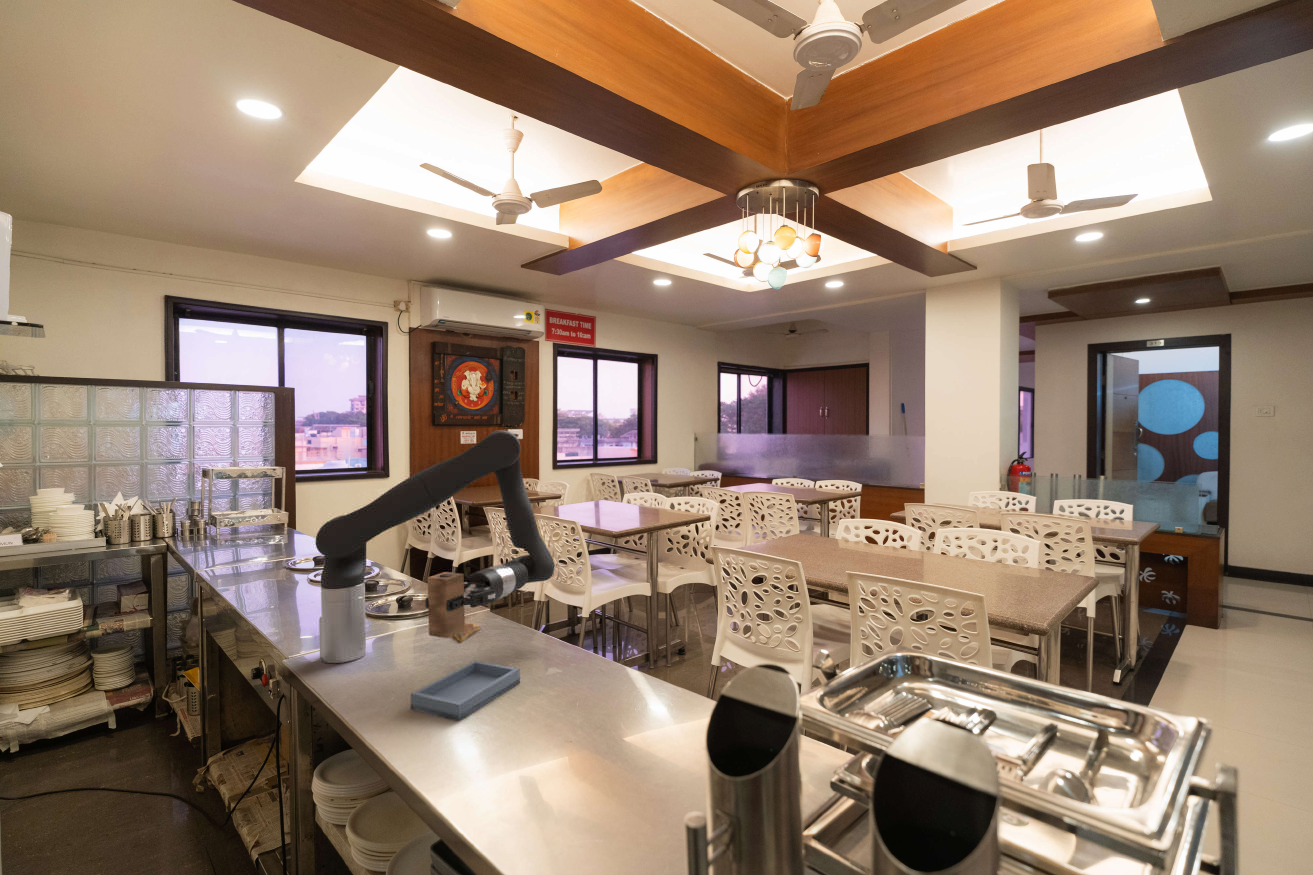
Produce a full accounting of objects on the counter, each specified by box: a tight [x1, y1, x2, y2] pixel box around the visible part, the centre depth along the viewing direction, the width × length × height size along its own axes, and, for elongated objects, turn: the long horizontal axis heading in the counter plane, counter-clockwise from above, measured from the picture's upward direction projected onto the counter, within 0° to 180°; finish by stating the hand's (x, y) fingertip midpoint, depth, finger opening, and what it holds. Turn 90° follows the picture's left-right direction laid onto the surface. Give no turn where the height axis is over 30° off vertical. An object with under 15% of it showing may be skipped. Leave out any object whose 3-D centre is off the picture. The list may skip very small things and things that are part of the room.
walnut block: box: [427, 571, 466, 639], centre depth 126 cm, size 5×5×12 cm
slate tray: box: [410, 660, 521, 722], centre depth 122 cm, size 12×18×3 cm, turn 156°
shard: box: [453, 622, 482, 643], centre depth 158 cm, size 11×8×2 cm
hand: (437, 604), depth 124 cm, fingers closed on walnut block, 5 cm apart
